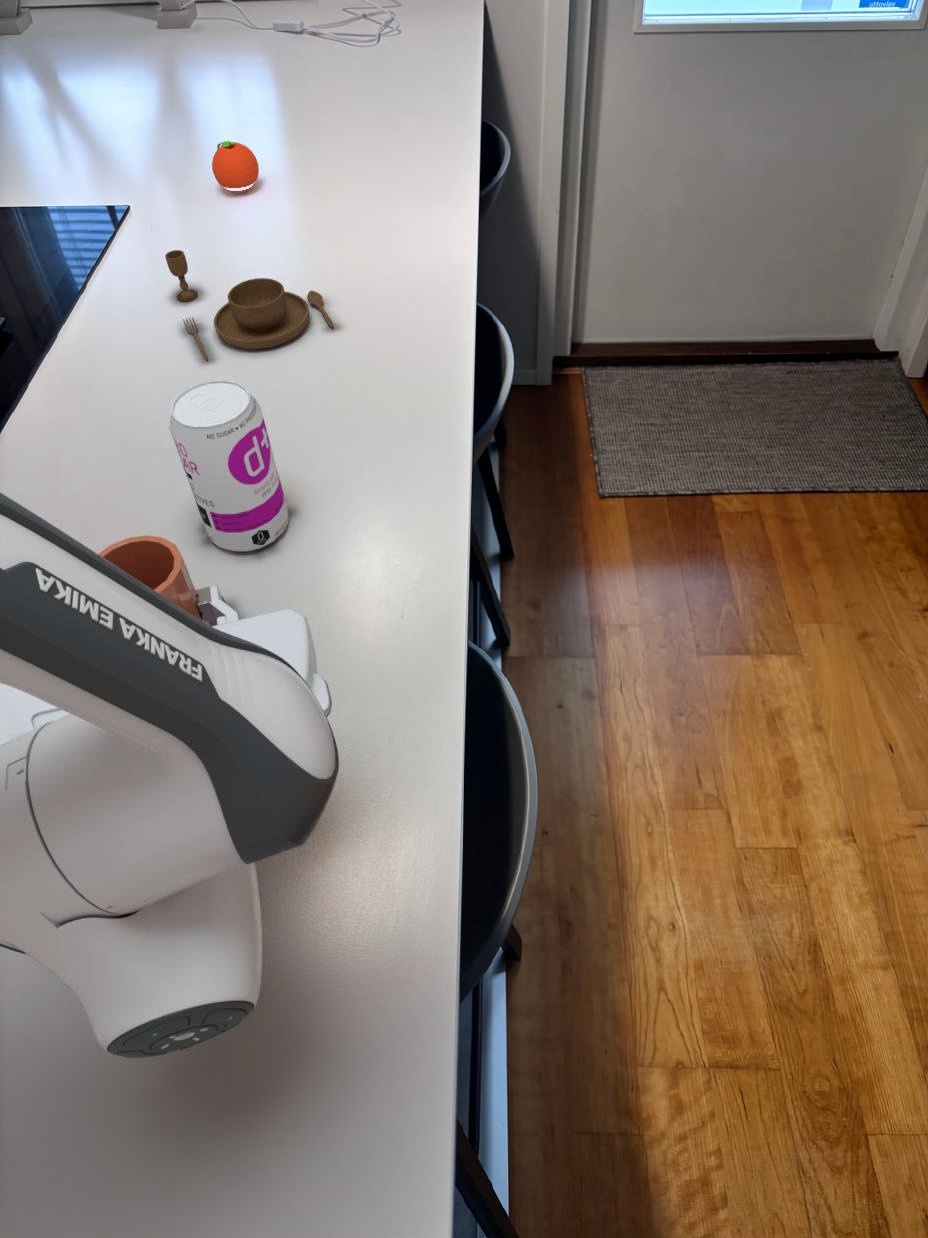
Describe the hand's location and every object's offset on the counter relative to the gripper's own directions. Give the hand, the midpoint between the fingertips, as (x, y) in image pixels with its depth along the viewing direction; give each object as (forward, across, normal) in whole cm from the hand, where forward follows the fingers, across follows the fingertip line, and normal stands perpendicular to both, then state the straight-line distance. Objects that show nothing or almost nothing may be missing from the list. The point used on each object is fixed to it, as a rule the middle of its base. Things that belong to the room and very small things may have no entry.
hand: (152, 606), depth 65 cm
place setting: (+66, -11, +17) cm, 69 cm away
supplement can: (+26, -6, +17) cm, 31 cm away
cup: (-1, 0, +6) cm, 6 cm away
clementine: (+104, -14, +17) cm, 106 cm away
